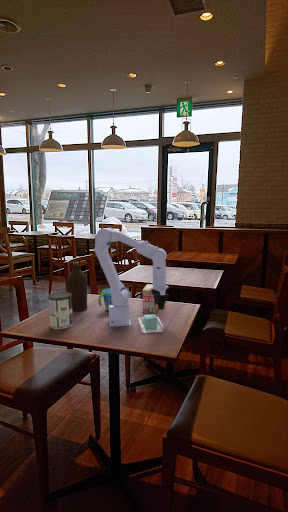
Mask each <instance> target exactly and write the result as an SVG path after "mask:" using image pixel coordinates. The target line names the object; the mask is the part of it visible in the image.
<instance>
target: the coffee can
mask: <svg viewBox="0 0 288 512" xmlns="http://www.w3.org/2000/svg"><path fill="white" fill-rule="evenodd" d="M47 299H48V312H49V327H50V328H51V329H54V330H64V329H69V328H71V327H72V326H73V325H74V320H73V319H74V317H73V311H72V294H71V293H68V291H67V292H64V291H63V292H62V291H61V292H53V293H51V294H49V295H48V296H47Z"/></svg>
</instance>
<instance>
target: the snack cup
mask: <svg viewBox="0 0 288 512" xmlns="http://www.w3.org/2000/svg"><path fill="white" fill-rule="evenodd" d="M102 298H103V301H104V308H105V310H106V311H108V312H109V305H113V303H112V301H111V294H110V287H109V288H106V289H105V288H104V289H102V291H101V293H100V294H99V296H98V306H100V307H102V306H103V305H102Z"/></svg>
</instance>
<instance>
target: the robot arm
mask: <svg viewBox="0 0 288 512" xmlns="http://www.w3.org/2000/svg"><path fill="white" fill-rule="evenodd" d="M94 239H95V240H94V241H95V243H94V253H95V255H96V257H97V259H98V261H99V264H100V266H101V269H102V271H103V273H104V275H105V278H106V281H107V283H108V285H109V288H110V294H111V301H112V303H113V305H109V311H108V318H107V319H108V323H109V327H121V326H123V327H124V326H131V325H132V323H131V320H130V303H129V299H130V297H131V293H130V290H128V288H126V287H125V284H124V283H123V282H121V279H120V277H119V274H118V272H117V269H116V267H115V264H114V262H113V260H112V258H111V255H110V253H109V251H108V250H109V248H110V245H111V244H112V243H113V242H121V243H123V244H126V245H128V246H130V247H132V248H134V249H135V250H136V252H137V253H138V254H140V255H142V256H143V257H146V258H147V259H149V260H152V284H153V286H152V288H153V289H151V291H152V293H153V296H154V301H155V305H158V309H157V310H158V311H163V310H164V309H165V306H166V302H167V299H168V297H169V294H168V293H166V290H167V289H169V285H167V266H166V264H167V262H166V259H167V256H168V255H167V252H166V250H164V249H163V248H162V247H159V246H157V245H156V246H155V245H153V244H151V243H149V241H148V240H140V241H139V240H136V239H135V238H133V237H131V236H129V235H127V234H126V233H124V232H123V231H120V230H118V229H114V228H113V227H107V228H100V229H99V230H97V232H96V234H95V236H94Z"/></svg>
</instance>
